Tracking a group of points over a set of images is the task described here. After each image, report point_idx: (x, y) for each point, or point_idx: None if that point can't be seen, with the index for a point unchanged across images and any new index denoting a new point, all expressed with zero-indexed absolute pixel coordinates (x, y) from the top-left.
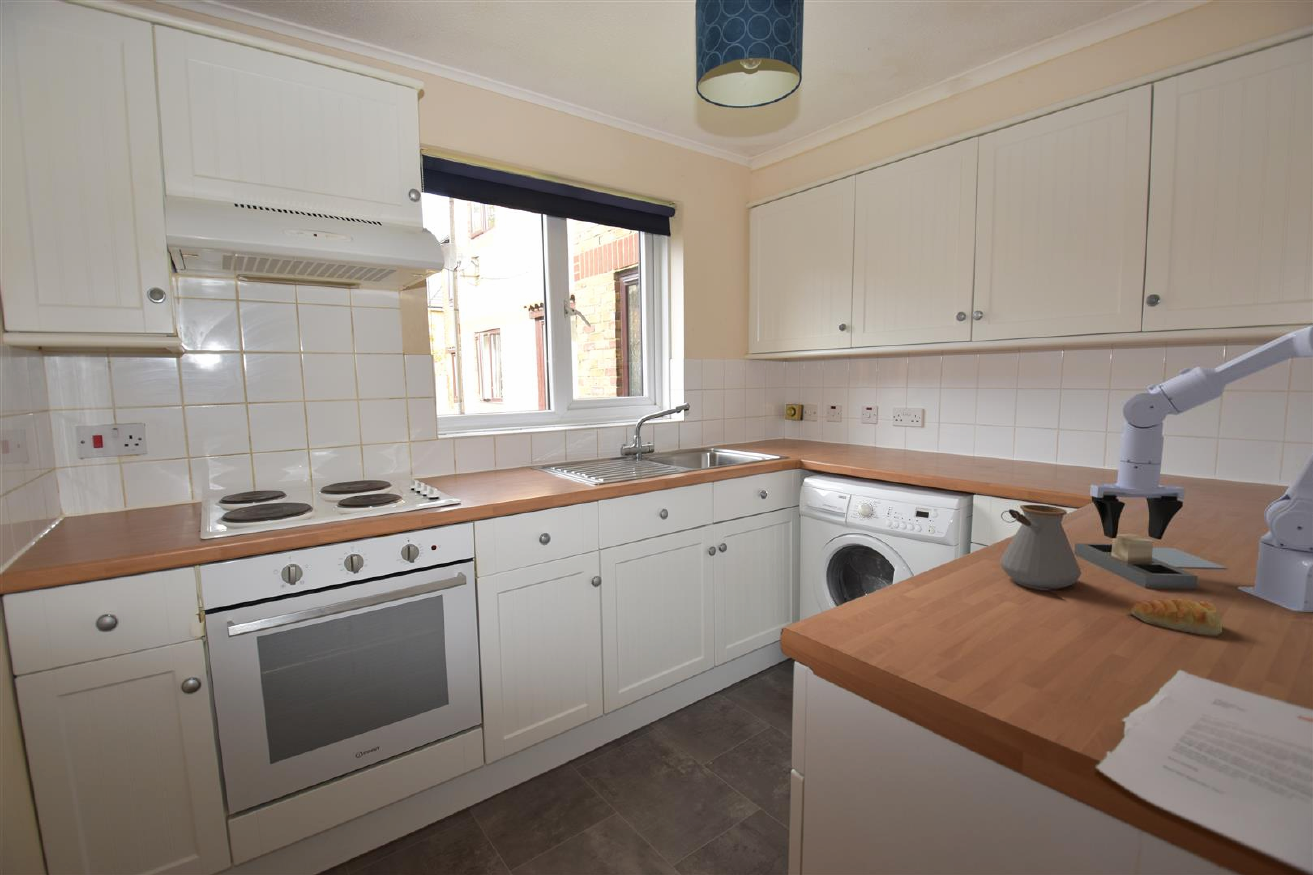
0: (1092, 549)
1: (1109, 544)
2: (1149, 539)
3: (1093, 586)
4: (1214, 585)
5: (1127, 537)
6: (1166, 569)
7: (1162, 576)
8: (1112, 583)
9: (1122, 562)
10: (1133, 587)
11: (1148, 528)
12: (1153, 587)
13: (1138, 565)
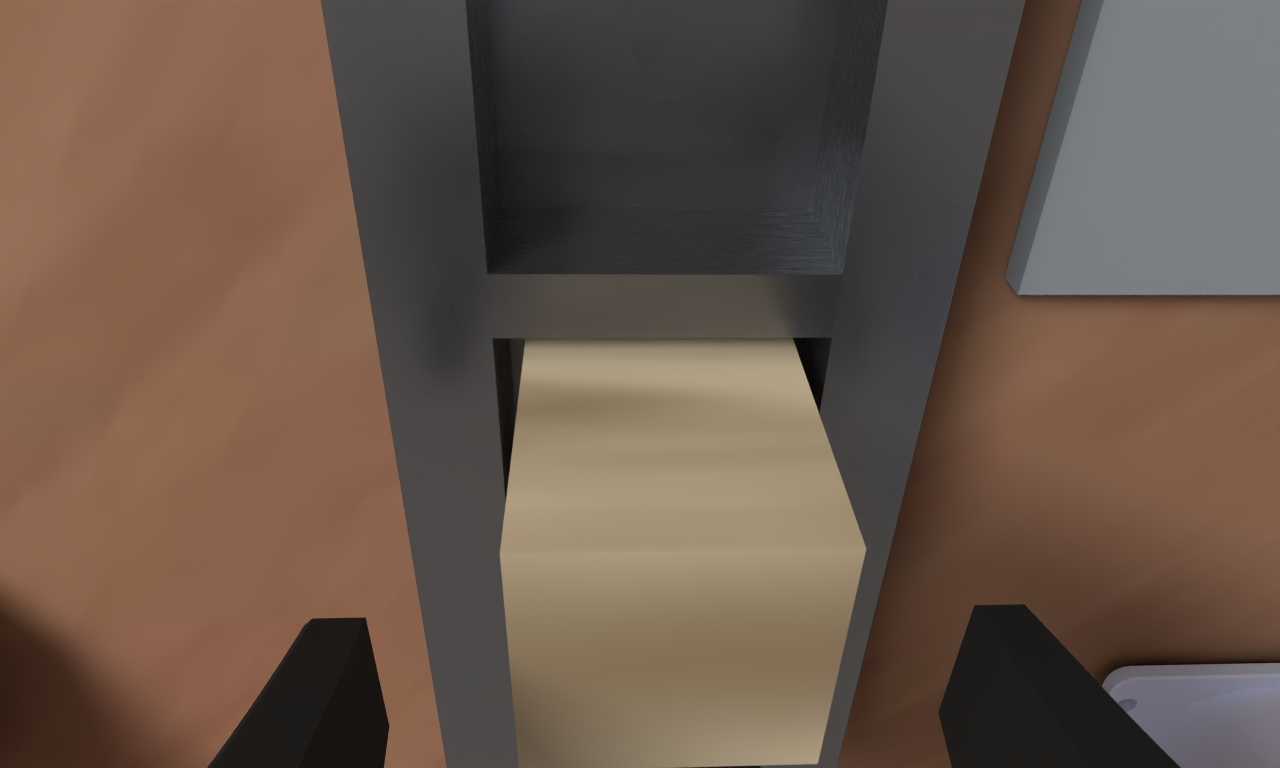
0: (398, 158)
1: None
2: (818, 728)
3: (137, 666)
4: (1069, 592)
5: (594, 676)
6: None
7: None
8: (314, 610)
9: (459, 592)
10: (426, 661)
11: (1032, 683)
12: None
13: None
